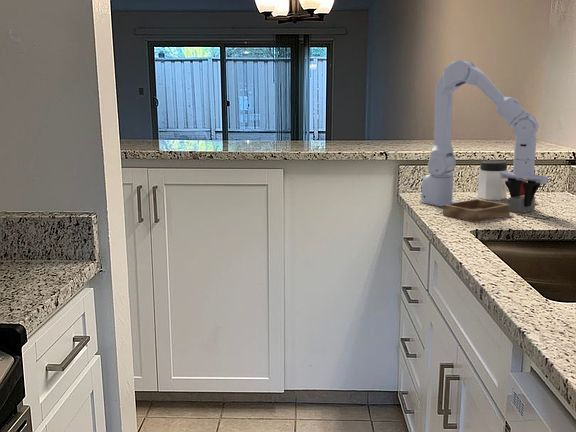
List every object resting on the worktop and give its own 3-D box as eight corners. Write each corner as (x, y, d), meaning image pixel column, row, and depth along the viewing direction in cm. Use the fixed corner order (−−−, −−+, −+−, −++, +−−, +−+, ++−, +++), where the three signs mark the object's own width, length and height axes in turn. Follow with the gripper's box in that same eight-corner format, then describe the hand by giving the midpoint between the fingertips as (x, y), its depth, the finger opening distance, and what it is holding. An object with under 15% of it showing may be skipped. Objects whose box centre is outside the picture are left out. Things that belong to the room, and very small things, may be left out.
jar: (497, 201, 186) (499, 164, 183) (473, 198, 192) (475, 162, 189) (510, 197, 192) (512, 161, 190) (486, 194, 198) (488, 159, 195)
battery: (508, 211, 171) (509, 197, 171) (523, 207, 175) (524, 194, 175) (518, 213, 169) (519, 199, 168) (534, 209, 172) (535, 196, 172)
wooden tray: (443, 215, 168) (443, 204, 167) (476, 208, 176) (476, 198, 175) (475, 222, 158) (476, 211, 158) (509, 215, 166) (510, 204, 166)
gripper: (555, 160, 165) (552, 207, 168) (511, 156, 177) (508, 199, 180) (540, 162, 161) (537, 210, 164) (496, 157, 173) (493, 202, 176)
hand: (521, 205), depth 171 cm, fingers closed on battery, 4 cm apart
